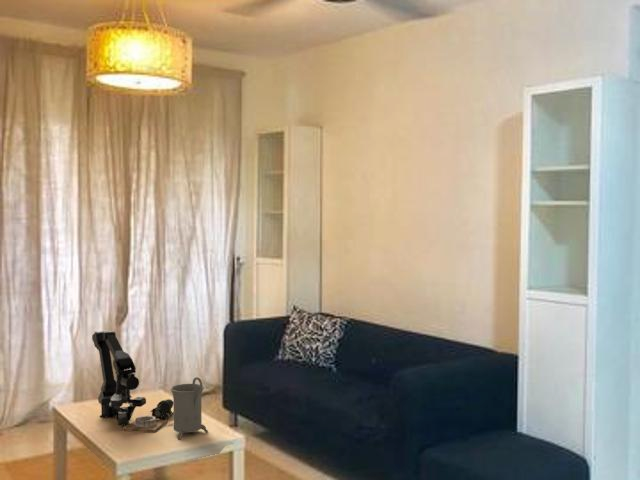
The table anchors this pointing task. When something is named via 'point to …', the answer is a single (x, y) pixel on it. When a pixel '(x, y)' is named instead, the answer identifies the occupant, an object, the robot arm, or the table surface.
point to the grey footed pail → (187, 407)
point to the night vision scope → (163, 409)
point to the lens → (123, 416)
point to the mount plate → (145, 429)
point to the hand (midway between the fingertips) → (123, 420)
